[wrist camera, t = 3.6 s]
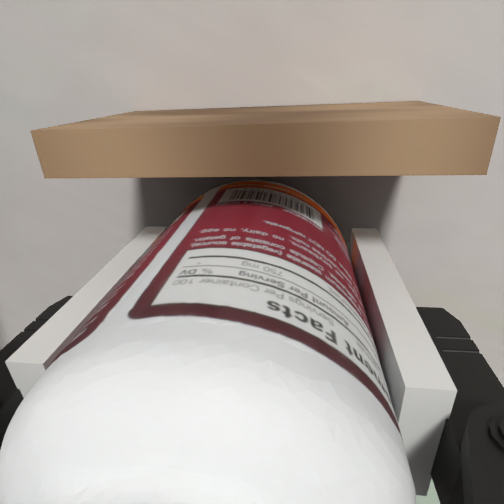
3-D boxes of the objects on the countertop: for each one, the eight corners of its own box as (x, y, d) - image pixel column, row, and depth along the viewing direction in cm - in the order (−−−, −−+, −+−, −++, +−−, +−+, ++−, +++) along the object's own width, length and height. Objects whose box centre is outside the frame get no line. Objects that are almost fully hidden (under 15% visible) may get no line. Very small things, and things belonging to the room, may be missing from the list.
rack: (175, 344, 16) (125, 446, 12) (134, 111, 12) (30, 130, 7) (379, 357, 15) (410, 476, 10) (418, 100, 10) (500, 117, 6)
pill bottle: (225, 349, 14) (65, 919, 5) (140, 221, 12) (-481, 770, 3) (374, 300, 13) (634, 1090, 3) (303, 139, 10) (333, 1051, 1)
